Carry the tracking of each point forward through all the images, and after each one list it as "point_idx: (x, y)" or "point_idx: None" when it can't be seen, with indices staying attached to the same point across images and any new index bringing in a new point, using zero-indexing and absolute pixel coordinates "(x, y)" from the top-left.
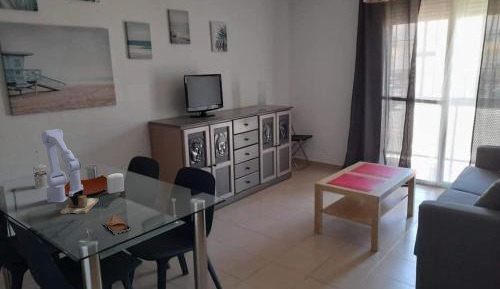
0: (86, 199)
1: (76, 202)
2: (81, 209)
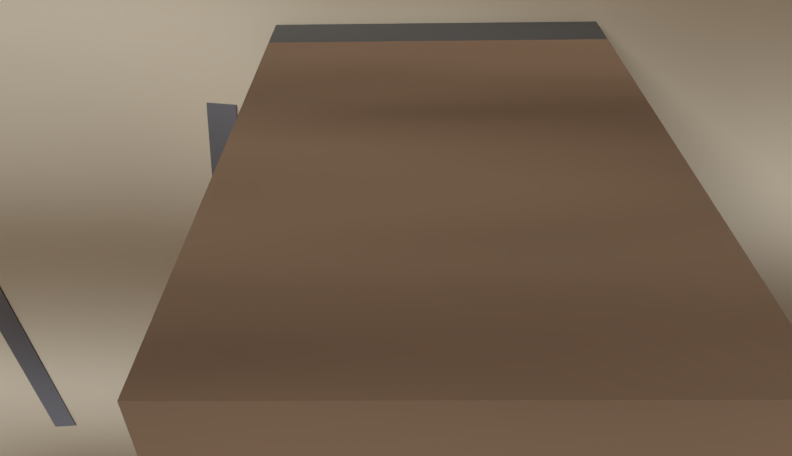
0: (244, 168)
1: None
2: (760, 68)
